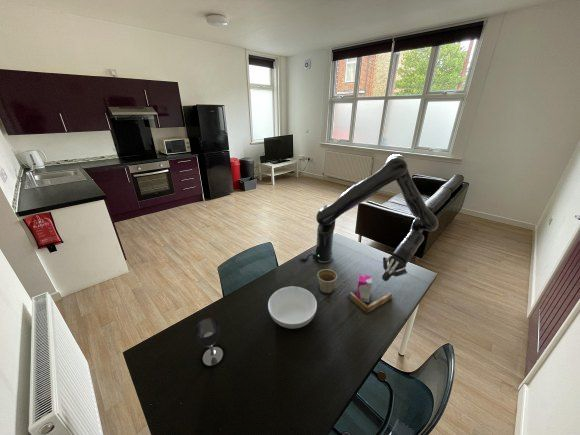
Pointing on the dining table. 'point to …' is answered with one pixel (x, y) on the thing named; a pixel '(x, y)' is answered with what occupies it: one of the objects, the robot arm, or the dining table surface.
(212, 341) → the wine glass
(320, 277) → the flower pot
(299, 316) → the serving bowl
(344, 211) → the robot arm
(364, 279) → the supplement box
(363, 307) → the corner fence
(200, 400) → the dining table surface
